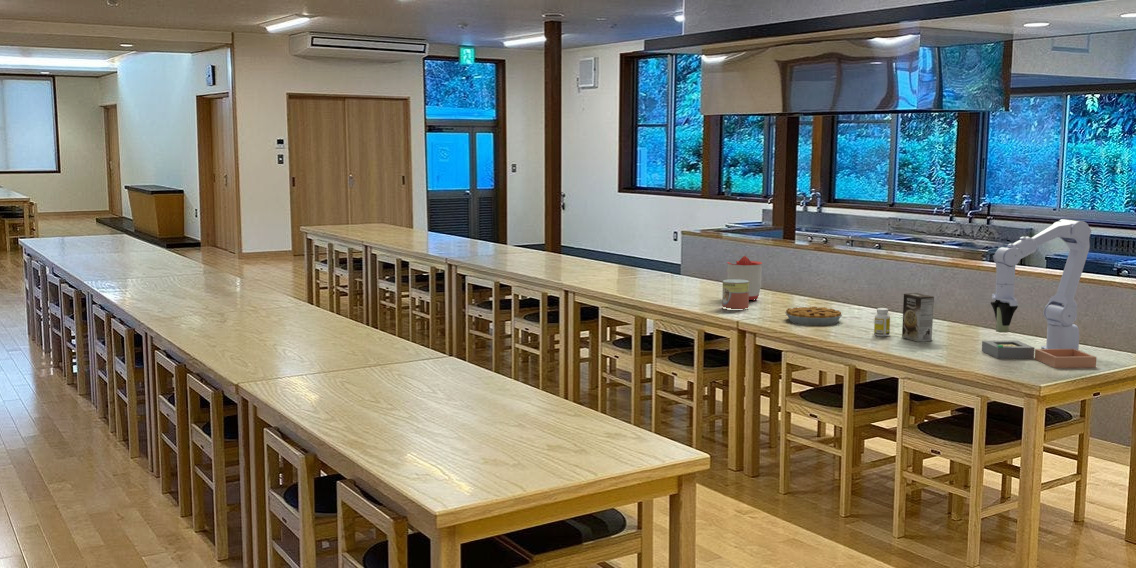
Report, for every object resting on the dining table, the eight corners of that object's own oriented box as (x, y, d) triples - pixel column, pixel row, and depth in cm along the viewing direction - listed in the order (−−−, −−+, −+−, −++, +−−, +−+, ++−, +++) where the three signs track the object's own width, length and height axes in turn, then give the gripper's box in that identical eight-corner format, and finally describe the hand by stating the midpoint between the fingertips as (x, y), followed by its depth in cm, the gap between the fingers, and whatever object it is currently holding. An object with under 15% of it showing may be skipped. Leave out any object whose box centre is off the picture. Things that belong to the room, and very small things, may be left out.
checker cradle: (1016, 350, 341) (1017, 338, 340) (1033, 358, 329) (1034, 345, 329) (981, 351, 341) (982, 339, 340) (997, 358, 329) (998, 346, 328)
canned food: (716, 307, 434) (717, 280, 432) (738, 305, 439) (739, 278, 437) (731, 311, 424) (732, 283, 422) (754, 309, 429) (754, 281, 427)
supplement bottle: (886, 333, 373) (887, 307, 371) (891, 336, 367) (892, 309, 366) (871, 333, 373) (872, 307, 371) (876, 336, 367) (877, 310, 366)
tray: (1074, 358, 328) (1074, 348, 327) (1095, 367, 315) (1096, 357, 315) (1034, 359, 328) (1035, 349, 327) (1054, 367, 315) (1055, 357, 314)
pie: (793, 326, 389) (793, 314, 388) (779, 317, 411) (779, 305, 410) (849, 326, 390) (849, 313, 389) (832, 316, 411) (832, 304, 411)
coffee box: (901, 337, 365) (902, 293, 363) (915, 336, 368) (917, 292, 365) (918, 342, 357) (919, 296, 355) (932, 340, 359) (934, 295, 357)
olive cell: (1005, 330, 338) (1007, 304, 337) (1011, 332, 334) (1012, 306, 333) (993, 330, 338) (995, 305, 337) (999, 332, 334) (1000, 306, 333)
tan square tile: (1012, 346, 338) (1012, 344, 338) (1021, 349, 332) (1021, 347, 332) (994, 346, 338) (994, 344, 338) (1002, 349, 332) (1002, 348, 331)
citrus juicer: (739, 295, 468) (739, 252, 465) (768, 299, 455) (769, 255, 452) (716, 299, 458) (717, 255, 455) (746, 303, 445) (747, 258, 442)
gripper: (983, 281, 341) (981, 320, 343) (1002, 287, 327) (1000, 328, 329) (1004, 280, 341) (1002, 320, 343) (1024, 286, 327) (1022, 328, 329)
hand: (1002, 324), depth 336 cm, fingers closed on olive cell, 4 cm apart
